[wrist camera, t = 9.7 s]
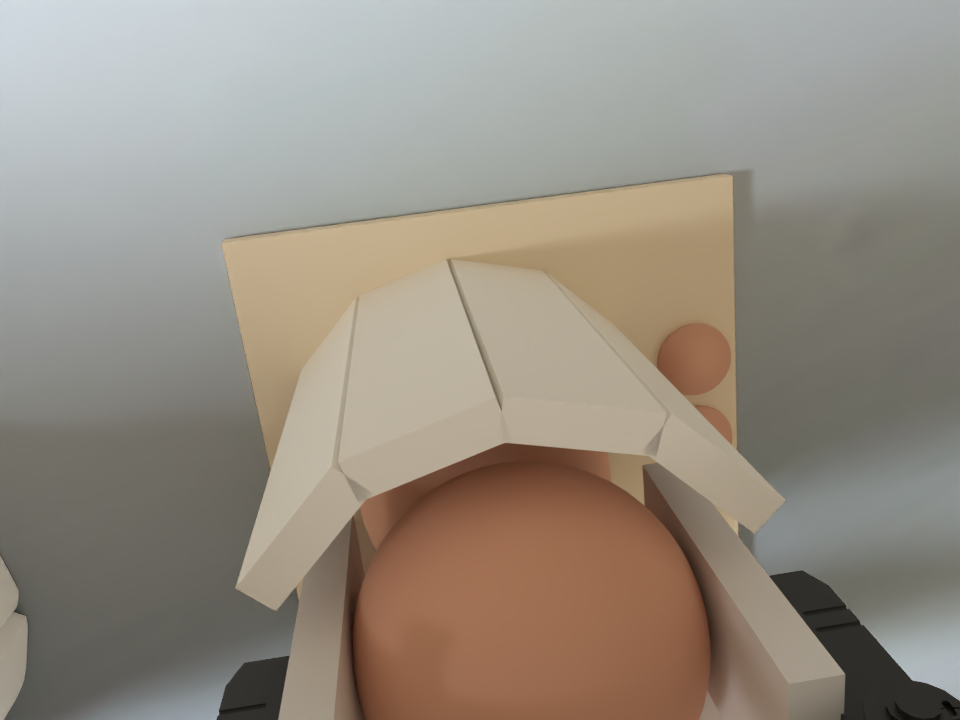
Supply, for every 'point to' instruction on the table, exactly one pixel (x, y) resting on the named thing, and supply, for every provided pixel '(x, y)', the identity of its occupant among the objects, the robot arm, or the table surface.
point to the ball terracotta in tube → (395, 502)
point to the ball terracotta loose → (530, 605)
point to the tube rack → (490, 354)
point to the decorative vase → (11, 642)
